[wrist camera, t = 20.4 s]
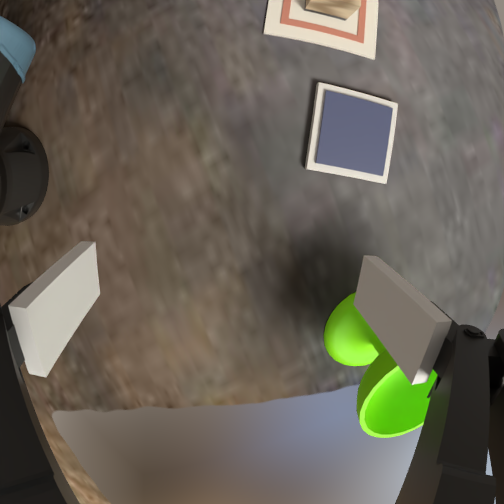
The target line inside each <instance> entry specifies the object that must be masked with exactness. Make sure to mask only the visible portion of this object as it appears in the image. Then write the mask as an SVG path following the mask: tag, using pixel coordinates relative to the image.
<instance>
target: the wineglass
mask: <svg viewBox="0 0 504 504" xmlns="http://www.w3.org/2000/svg"><path fill="white" fill-rule="evenodd" d="M355 295H356V292H355V293H353V294H351V295H349V296H348V297H347V298H345V299H344V300H343V301H342V302H341V303H339V304H338V306H337V307H336V308H335V309H334V311H333V312H332V313H331V315H330V317H329V319H328V321H327V323H326V326H325V331H324V345H325V347H326V349H327V352H328V354H329V355H330V356H331V357H332V358H333V359H334V360H336V361H338V362H340V363H342V364H344V365H350V366H362V365H367V364H370V363H371V364H370V366H369V367H368V369H367V371H366V372H365V374H364V376H363V378H362V380H361V383H360V386H359V388H358V395H357V414H358V418H359V422H360V424H361V427H362V429H363V430H364V431H365V432H366V433H367V434H369V435H371V436H375V437H379V438H388V437H394V436H399V435H403V434H405V433H408V432H410V431H413V430H414V429H416V428H418V427H420V426H421V425H423V424H424V420H425V416H426V413H427V409H428V405H429V401H430V398H427V396H428V394H429V392H430V390H431V388H432V386H433V384H434V382H435V380H436V377H437V374H436V372H435V371H434V370H432V372H431V374H430V376H429V379H428V381H427V382H425V383H419V384H413V385H411V383H410V382H409V380H408V379H407V378H406V376H405V375H404V373H403V372H402V370H401V369H400V368H399V366H398V365H397V363H396V362H395V361H394V359H393V358H392V356H391V355H390V354H389V352H388V351H387V349H386V348H385V347H384V345H383V344H382V342H381V341H380V340H379V338H378V337H377V336H376V334H375V333H374V331H373V330H372V329H371V327H370V326H369V325H368V323H367V322H366V321H365V319H364V318H363V317H362V315H361V314H360V313H359V311H358V310H357V309H356V307H355V306H354V305H353V303H354V299H355ZM430 397H431V396H430Z"/></svg>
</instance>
